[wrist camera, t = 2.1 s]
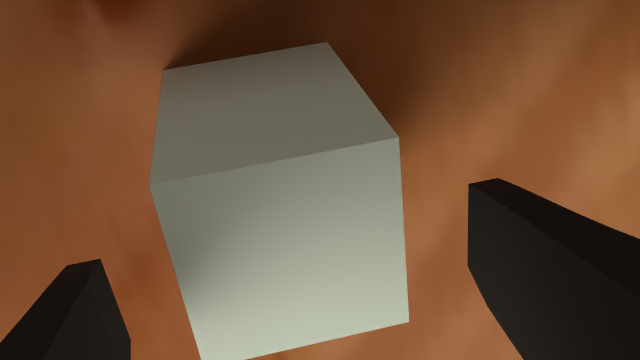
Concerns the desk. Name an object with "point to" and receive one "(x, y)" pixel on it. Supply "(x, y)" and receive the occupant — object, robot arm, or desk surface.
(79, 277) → the robot arm
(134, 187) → the desk surface
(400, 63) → the desk surface
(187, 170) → the sage green block
